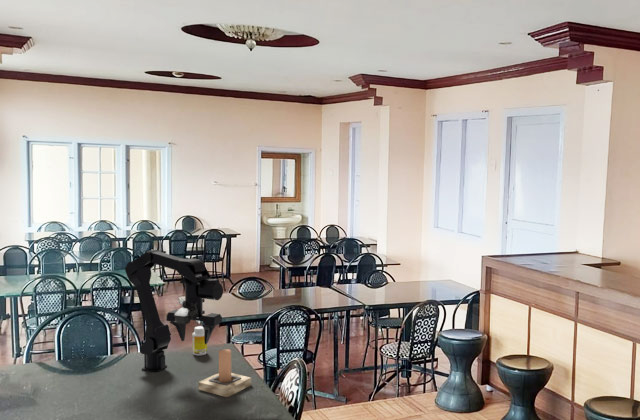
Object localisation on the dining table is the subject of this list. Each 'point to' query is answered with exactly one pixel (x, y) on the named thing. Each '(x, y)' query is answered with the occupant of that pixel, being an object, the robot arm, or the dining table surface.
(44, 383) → the dining table surface
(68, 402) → the dining table surface
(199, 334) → the supplement bottle
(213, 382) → the socket block
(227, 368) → the peg
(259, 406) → the dining table surface
